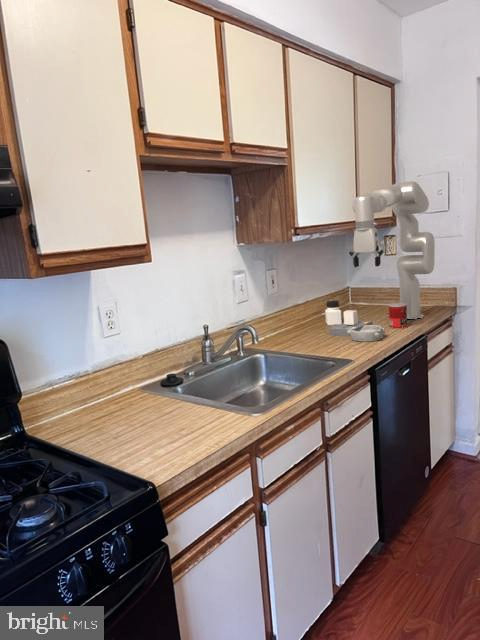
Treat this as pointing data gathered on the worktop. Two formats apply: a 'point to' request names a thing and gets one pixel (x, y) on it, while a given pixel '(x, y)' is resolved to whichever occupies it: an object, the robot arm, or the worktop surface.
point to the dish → (367, 333)
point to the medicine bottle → (333, 313)
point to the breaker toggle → (350, 317)
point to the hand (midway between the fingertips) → (366, 266)
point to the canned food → (398, 315)
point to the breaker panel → (348, 328)
